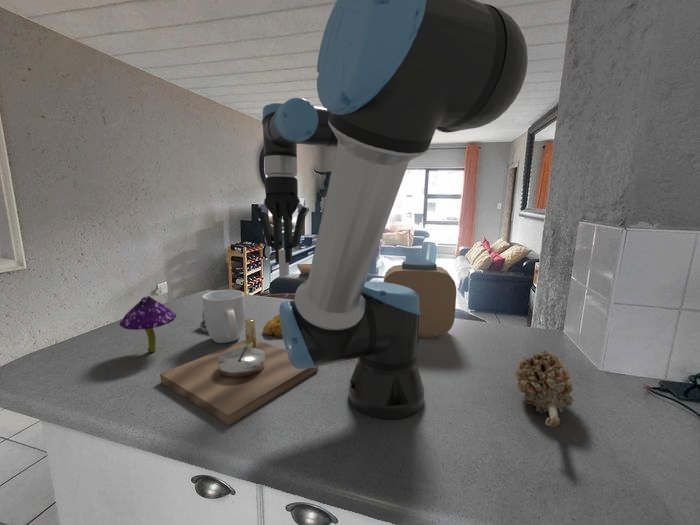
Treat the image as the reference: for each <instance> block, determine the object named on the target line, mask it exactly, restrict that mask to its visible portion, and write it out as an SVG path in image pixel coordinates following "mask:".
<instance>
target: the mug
mask: <svg viewBox="0 0 700 525" xmlns="http://www.w3.org/2000/svg"><path fill="white" fill-rule="evenodd" d="M202 308H203V310H202V314H203V313H204V319H205V328H207V330H208V332H207V333H208V336H210V338H211V339H212V340H213V342H215V343H218V344H228V343H231V342H235V341H236V340H238V339H239V338H240V336H241V334H242V332H243V329H244V326H245V320H246V301H245V293H244V292H243V291H241V290H237V289H222V290H214V291H209V292H207V293H204V294H203V295H202ZM203 311H204V312H203ZM204 319H203V320H204Z"/></svg>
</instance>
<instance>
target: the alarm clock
mask: <svg viewBox="0 0 700 525" xmlns="http://www.w3.org/2000/svg"><path fill="white" fill-rule="evenodd" d="M382 282H386V283H392V284H397V285H401V286H405V287H408V288H410V289H412V290H414V291H415V292H416V293H417V294H418V296H419V310H420V315H419V328H418V339H421V338H422V339H437V336H442V335H445V334H446V333H448V332H449V331H450V330H451V329H452V328H453V325H454V323H455V318H456V317H455V316H456V308H457V307H456V306H457V305H456V304H457V286H456V282H455V280H454V278H452V276H451V275H450V273H449V272H448V271H447V269H445V268H444V267H442V266H437V264H436V262H429V261H402V262H401V264H399V265H393V266H391V267H390V268H388V270H387V271H386V272H385V274H384V277H383V281H382Z"/></svg>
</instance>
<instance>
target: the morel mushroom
mask: <svg viewBox="0 0 700 525" xmlns="http://www.w3.org/2000/svg"><path fill="white" fill-rule="evenodd" d="M517 362H518V365H517V367H518V368H516V369H517V370H516V371H514V376H515V377H516V380H517V381H518V382H517V383H516V386H517V387H518V391H519V392H521V393H524V394H523V395H524V400H525V401H526V403H527V404H530V405H533V406H535V412H539V414H544V413H546V412H548V415H549V417H547V419H546V420H545V425H546V426H549V427H557V426H559V424H560V423H561V422H560V421H561V417H559V413H558V411H559V412H560V413H562V412H563V408H564V407H566V406H567V407H568V406H571V405H573V403H572V402H574V401H575V399H574V397H573V396H571V395H570V394H571V393H572V391H573V390H574V388H573V383H572V382H570V381H569V380H570V379H571V375H570V373H569V369H567V368H566V369H565V368H564V364H563V361H562V359H560V358H558V357H556V355H555V354H554V353H552V352H550V351H548V350H543V351H542V350H541V351H540V352H539V353H533V356H531V357H530V358H526V357H524V356H523V357H522V358H520V359H519V361H517Z"/></svg>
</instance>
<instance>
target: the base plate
mask: <svg viewBox="0 0 700 525" xmlns="http://www.w3.org/2000/svg"><path fill="white" fill-rule="evenodd" d="M245 343H246V339H244V340H241V341H239V342H236V343H233V344H231V345H228V346H227V347H224V348H222V349H220V350H217V351H214V352H211V353H208V354H206V355H204V356H202V357H199V358H197V359H194V360H191V361H188V362H186V363H183V364H181V365H179V366H176V367H174V368H172V369H168V370H166V371H164V372H162V373H160V374H159V375H160V377H159V378H160V383H162V384H163V385H165V386H166V387H168V388H169V389H170V390H172V391H174V392H175V393H178V394H179V395H180V396H182V397H184V398H185V399H187V400H189V401H190V402H191V403H193V404H194V405H196V406H198V407H199V408H201V409H202V410H204V411H206V412H207V413H208V414H210V415H212V416H214V417H215V418H217V419H218V420H219V421H221V422H223V423H225V424H226V425H228V426H231V425H232V424H234V423H235V422H237V421H239V420H240V419H242V418H243V417H245V416H247V415H248V414H250V413H251V412H253V411H255V410H257V409H258V408H259V407H262V406H263V405H264V404H266V403H268V402H269V401H271V400H272V399H274V398H276V397H278V396H279V395H281V394H282V393H284V392H285V391H288V388H289V389H290V388H292V387H293V386H295V385H297V384H298V383H300V382H301V381H303V380H305V379H306V378H309V377H310V376H311V375H313V374H315V373H316V372H318V371H319V367H316V368H306V369H297V368H295V367H294V366H293V365H292V364H291V362H290V360H289V358H288V355H287V352H286V349H283V348H281V347H278V346H275V345H273V344H270V343H267V342H264V341H261V340H258V339H256V347H255V348H256V349H260V350H262V351H263V352H264V353H265V366H264V367H263V368H262V369H261V370H260V371H258V372H257V373H254V374H252V375H249V376H244V377H227V376H224V375H222V374H220V373H219V371H218V358H219V357H220V356H221V355H222V354H224V353H226V352H228V351H231V350H234V349H239V348H243V347H244V345H245ZM309 375H310V376H309Z"/></svg>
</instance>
